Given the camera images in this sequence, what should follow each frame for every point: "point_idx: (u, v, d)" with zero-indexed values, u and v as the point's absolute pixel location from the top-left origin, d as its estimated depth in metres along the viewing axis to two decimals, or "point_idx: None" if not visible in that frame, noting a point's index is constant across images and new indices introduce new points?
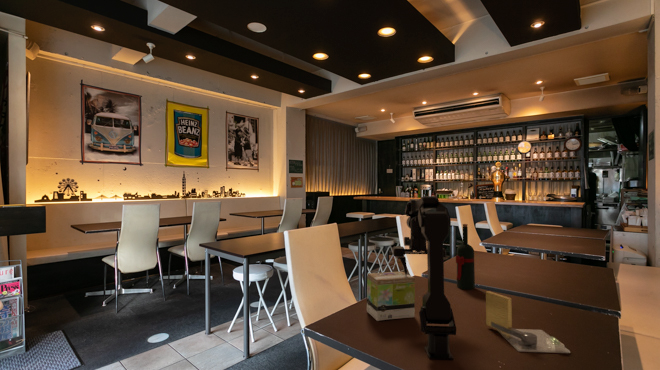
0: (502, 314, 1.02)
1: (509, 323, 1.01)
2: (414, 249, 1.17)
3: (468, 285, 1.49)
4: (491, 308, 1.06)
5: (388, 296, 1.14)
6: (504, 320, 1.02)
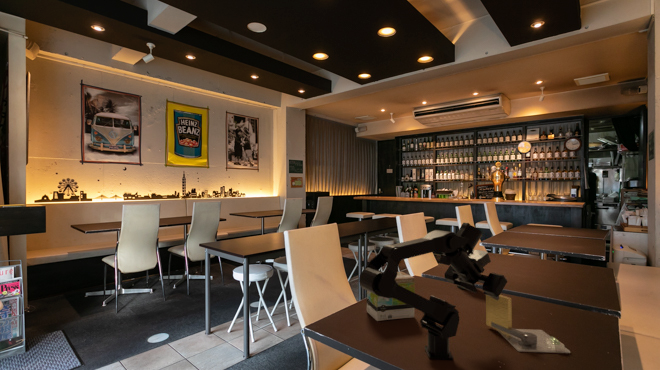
0: (502, 314, 1.02)
1: (509, 323, 1.01)
2: (460, 280, 0.98)
3: None
4: (491, 308, 1.06)
5: None
6: (504, 320, 1.02)
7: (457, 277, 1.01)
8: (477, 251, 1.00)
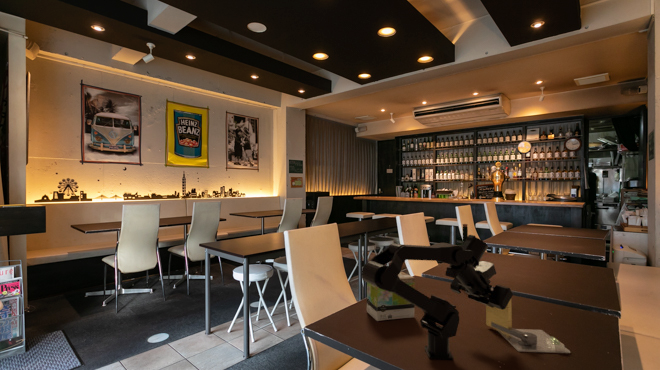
0: (502, 314, 1.02)
1: (509, 323, 1.01)
2: (466, 292, 0.98)
3: None
4: (491, 308, 1.06)
5: (388, 296, 1.14)
6: (504, 320, 1.02)
7: None
8: (483, 262, 1.00)
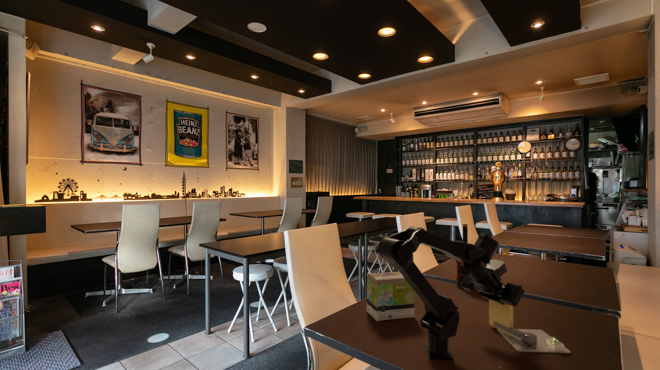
0: (504, 314, 1.03)
1: (510, 322, 1.01)
2: (478, 289, 1.01)
3: None
4: (494, 308, 1.06)
5: (388, 296, 1.14)
6: (505, 320, 1.02)
7: None
8: (494, 261, 1.03)
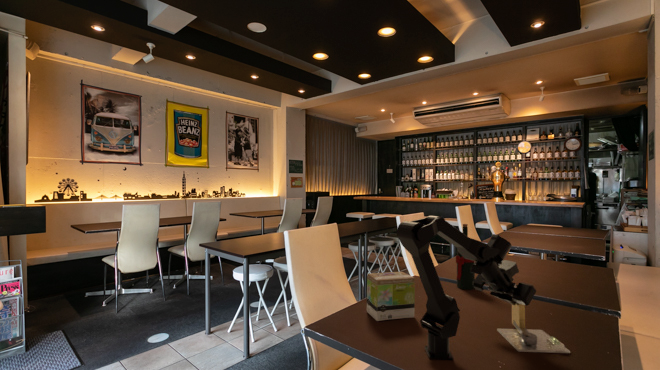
0: (517, 313, 1.03)
1: (520, 322, 1.01)
2: (489, 289, 1.03)
3: (468, 285, 1.49)
4: (513, 307, 1.07)
5: (388, 296, 1.14)
6: (518, 319, 1.03)
7: None
8: (505, 261, 1.05)
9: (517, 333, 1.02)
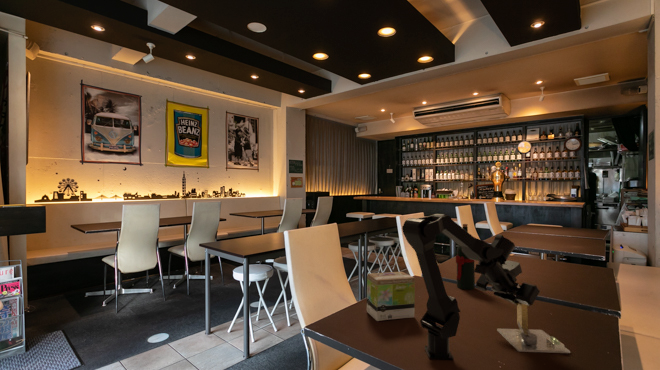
0: (520, 313, 1.03)
1: (523, 322, 1.01)
2: (493, 289, 1.04)
3: (468, 285, 1.49)
4: (518, 307, 1.07)
5: (388, 296, 1.14)
6: (520, 319, 1.03)
7: None
8: (509, 262, 1.06)
9: (517, 333, 1.02)
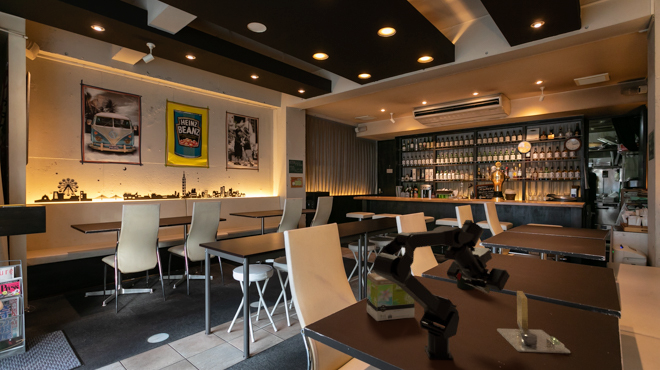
0: (520, 313, 1.03)
1: (523, 322, 1.01)
2: (463, 276, 1.00)
3: (468, 285, 1.49)
4: (518, 307, 1.07)
5: (388, 296, 1.14)
6: (520, 319, 1.03)
7: None
8: (479, 248, 1.03)
9: (517, 333, 1.02)
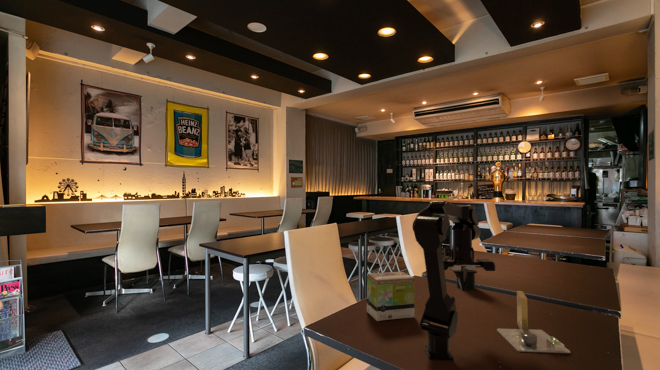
0: (520, 313, 1.03)
1: (523, 322, 1.01)
2: (459, 262, 1.03)
3: (468, 285, 1.49)
4: (518, 307, 1.07)
5: (388, 296, 1.14)
6: (520, 319, 1.03)
7: (460, 264, 1.05)
8: None
9: (517, 333, 1.02)
